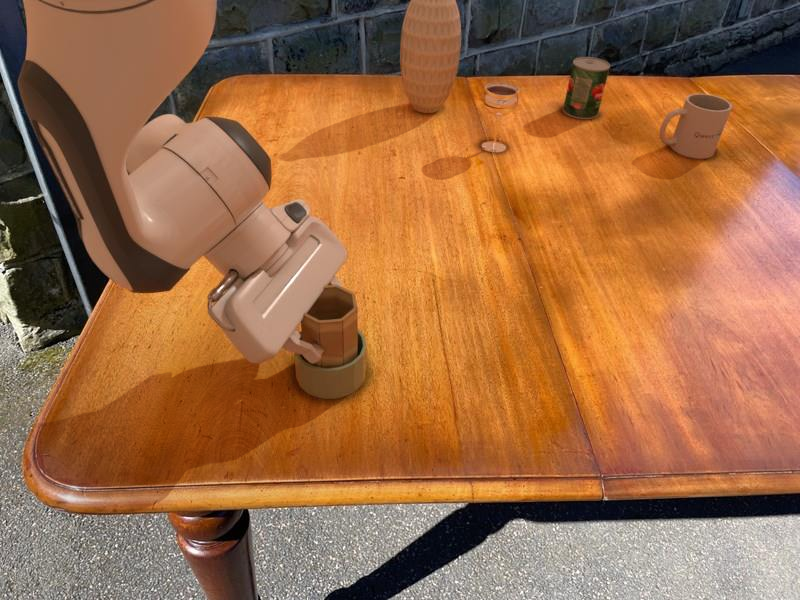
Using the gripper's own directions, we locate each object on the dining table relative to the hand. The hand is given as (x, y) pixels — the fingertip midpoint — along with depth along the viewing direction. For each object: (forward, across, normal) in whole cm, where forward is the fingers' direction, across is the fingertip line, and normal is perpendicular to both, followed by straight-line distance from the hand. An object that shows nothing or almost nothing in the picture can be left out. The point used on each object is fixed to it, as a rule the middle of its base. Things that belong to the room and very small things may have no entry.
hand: (334, 335), depth 75 cm
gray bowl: (+4, 0, +5) cm, 7 cm away
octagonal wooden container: (+4, 0, +5) cm, 6 cm away
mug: (+33, +85, -23) cm, 94 cm away
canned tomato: (+17, +94, -8) cm, 96 cm away
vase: (-6, +82, +15) cm, 83 cm away
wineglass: (+7, +69, +2) cm, 70 cm away
